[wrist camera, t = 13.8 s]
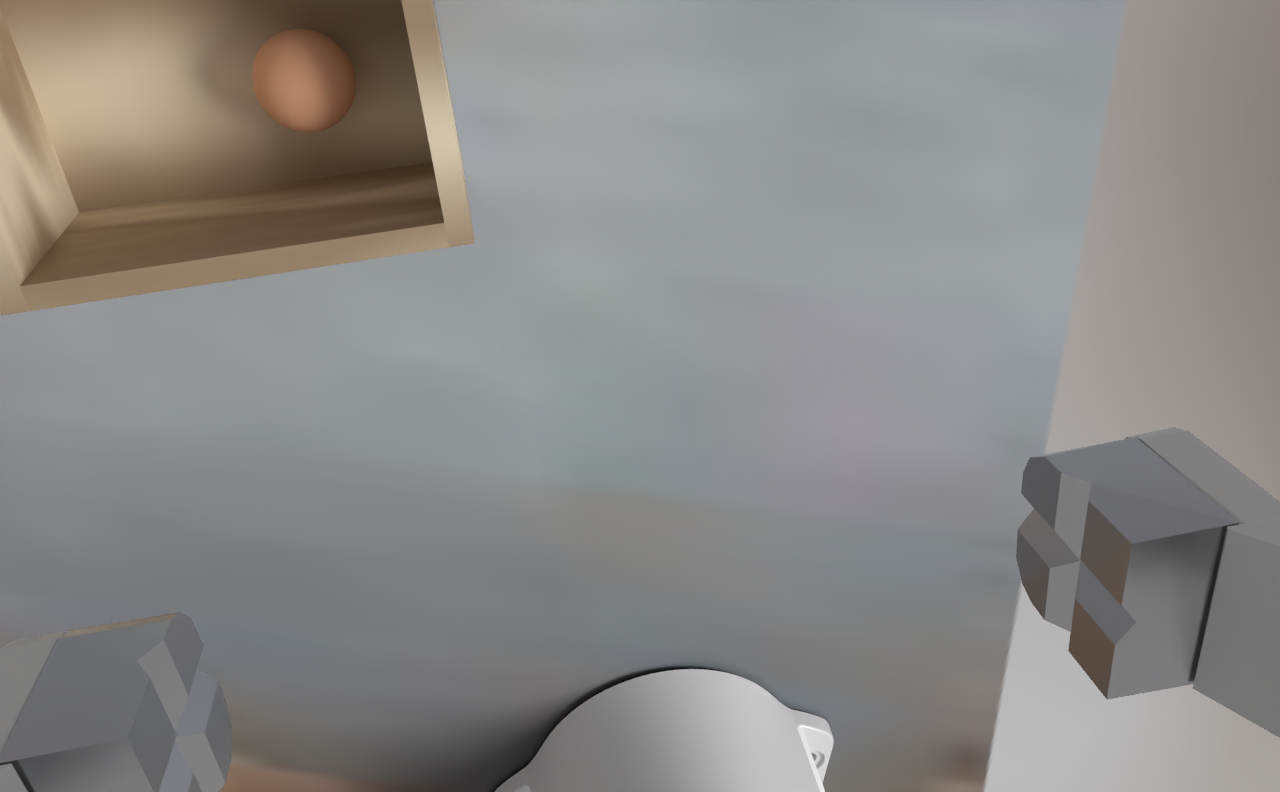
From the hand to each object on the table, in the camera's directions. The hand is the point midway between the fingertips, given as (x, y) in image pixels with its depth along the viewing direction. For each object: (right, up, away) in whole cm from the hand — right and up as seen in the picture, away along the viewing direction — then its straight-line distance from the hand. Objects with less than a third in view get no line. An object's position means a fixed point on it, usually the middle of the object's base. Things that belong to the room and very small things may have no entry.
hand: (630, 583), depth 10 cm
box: (-14, +15, +24) cm, 31 cm away
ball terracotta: (-11, +13, +25) cm, 30 cm away
